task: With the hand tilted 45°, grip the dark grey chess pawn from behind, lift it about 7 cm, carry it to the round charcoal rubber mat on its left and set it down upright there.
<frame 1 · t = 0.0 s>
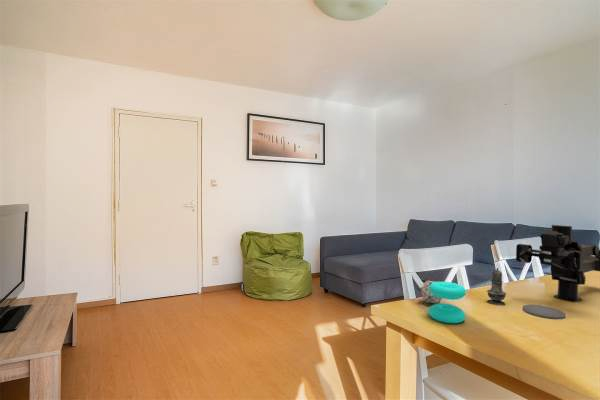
hand: (535, 258, 110), 17 cm above the table, tool horizontal, fingers open, 9 cm apart
donuts: (446, 319, 101), on the table
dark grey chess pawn: (496, 303, 117), on the table
game die: (431, 304, 114), on the table
charcoal mat: (543, 312, 108), on the table
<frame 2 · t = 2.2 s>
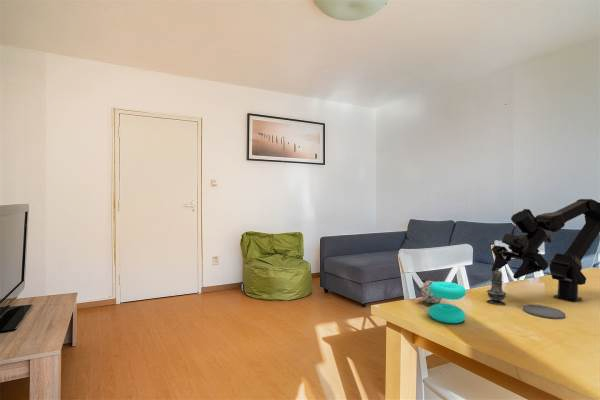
hand: (503, 274, 117), 10 cm above the table, tool tilted 45°, fingers open, 9 cm apart
nothing on the table moved.
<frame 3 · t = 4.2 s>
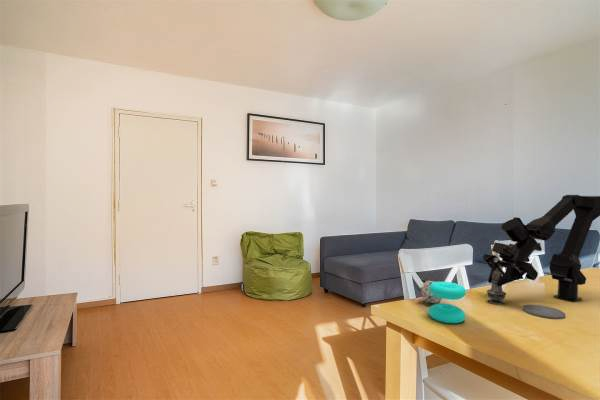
hand: (493, 283, 117), 7 cm above the table, tool tilted 45°, fingers closed on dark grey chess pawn, 3 cm apart
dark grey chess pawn: (496, 303, 117), on the table, touching gripper
everything else where it was.
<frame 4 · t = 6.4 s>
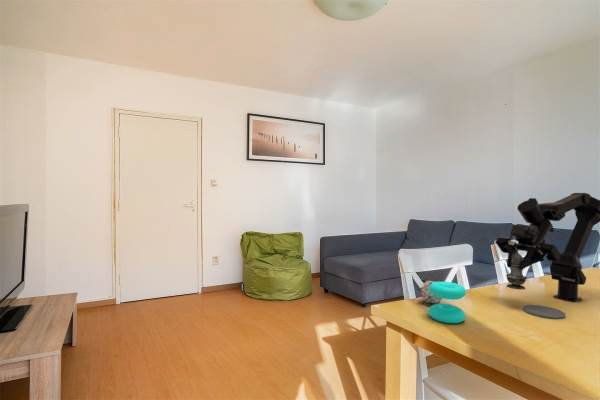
hand: (513, 267, 112), 13 cm above the table, tool tilted 45°, fingers closed on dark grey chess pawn, 3 cm apart
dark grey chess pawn: (515, 287, 113), point 6 cm above the table, touching gripper
everything else where it was.
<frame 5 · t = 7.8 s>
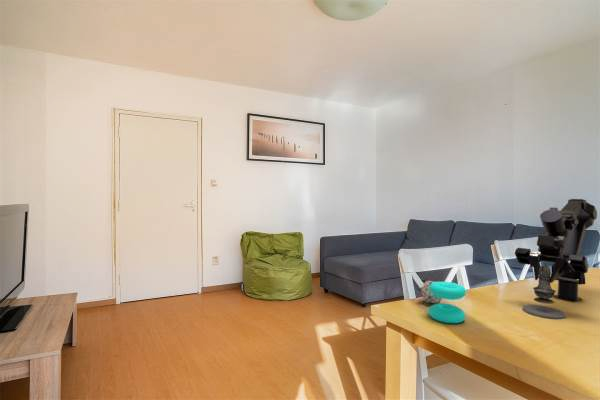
hand: (543, 280, 107), 10 cm above the table, tool tilted 45°, fingers closed on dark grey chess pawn, 3 cm apart
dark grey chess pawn: (543, 301, 108), point 4 cm above the table, touching gripper
everything else where it was.
when the fingers open (9 cm above the table, at t = 8.9 s): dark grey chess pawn drops 1 cm, resting on charcoal mat.
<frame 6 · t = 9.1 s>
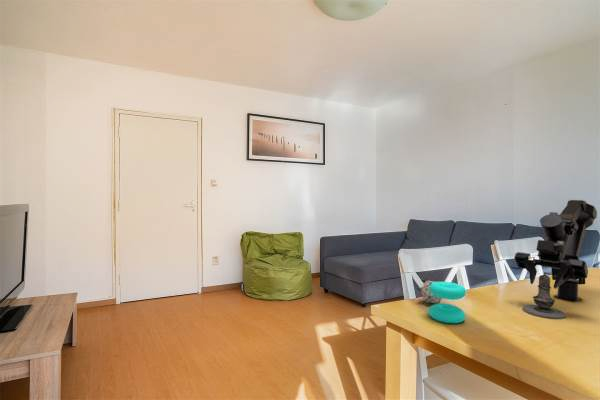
hand: (542, 285, 107), 9 cm above the table, tool tilted 45°, fingers open, 6 cm apart
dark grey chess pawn: (543, 310, 108), point 1 cm above the table, touching charcoal mat
everything else where it was.
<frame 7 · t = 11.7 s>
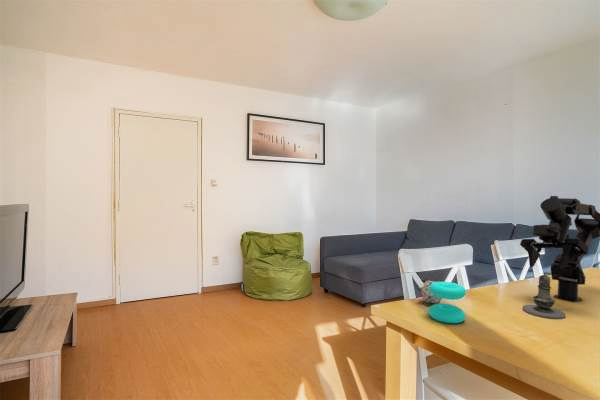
hand: (544, 267, 113), 13 cm above the table, tool tilted 35°, fingers open, 9 cm apart
nothing on the table moved.
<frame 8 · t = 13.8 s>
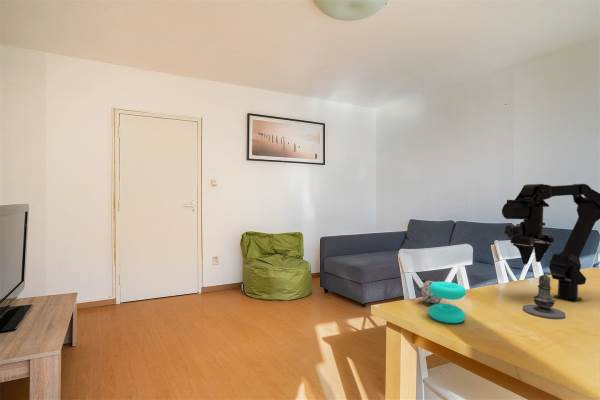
hand: (531, 263, 121), 13 cm above the table, tool pointing down, fingers open, 9 cm apart
nothing on the table moved.
at the end: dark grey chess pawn inside the target area on the charcoal mat (0.1 cm from its centre), point 0.6 cm above the charcoal mat's base; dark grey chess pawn tilted 0°; the gripper is holding nothing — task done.
